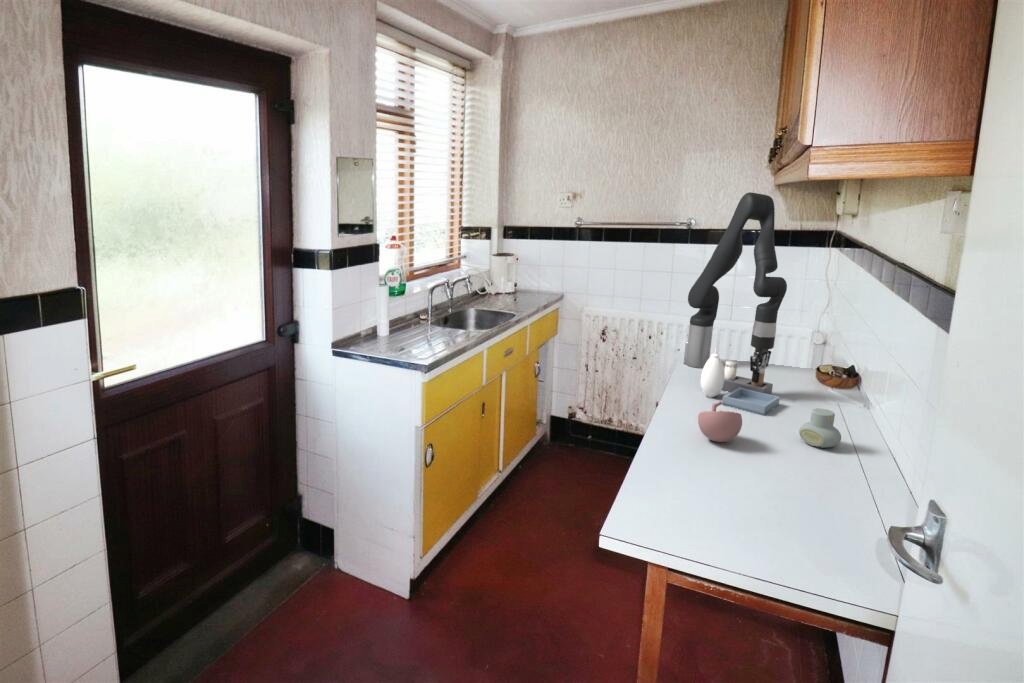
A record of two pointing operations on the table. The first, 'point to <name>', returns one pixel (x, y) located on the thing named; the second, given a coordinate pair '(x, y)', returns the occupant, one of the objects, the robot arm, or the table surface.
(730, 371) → the cylinder
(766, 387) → the block
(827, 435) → the air freshener
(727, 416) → the mortar and pestle
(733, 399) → the parts tray
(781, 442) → the table surface
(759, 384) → the cylinder
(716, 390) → the sauce bottle
